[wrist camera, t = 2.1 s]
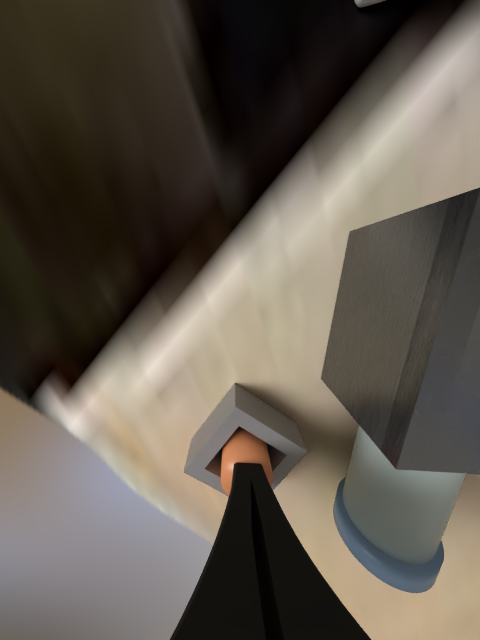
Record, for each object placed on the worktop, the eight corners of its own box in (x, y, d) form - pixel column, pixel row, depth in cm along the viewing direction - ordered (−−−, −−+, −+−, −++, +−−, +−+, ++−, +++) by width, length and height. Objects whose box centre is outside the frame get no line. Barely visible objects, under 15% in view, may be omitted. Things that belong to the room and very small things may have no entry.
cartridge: (371, 254, 12) (470, 242, 7) (459, 264, 12) (615, 260, 7) (320, 487, 15) (363, 591, 10) (391, 490, 15) (465, 594, 10)
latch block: (295, 422, 14) (307, 451, 12) (251, 473, 15) (255, 510, 13) (234, 383, 14) (235, 406, 11) (191, 439, 14) (183, 472, 12)
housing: (349, 231, 12) (480, 187, 6) (479, 246, 12) (737, 220, 6) (321, 378, 14) (396, 469, 7) (434, 387, 14) (596, 481, 8)
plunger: (272, 431, 14) (283, 473, 11) (248, 460, 14) (252, 509, 11) (239, 409, 13) (241, 448, 10) (214, 440, 14) (210, 486, 11)
